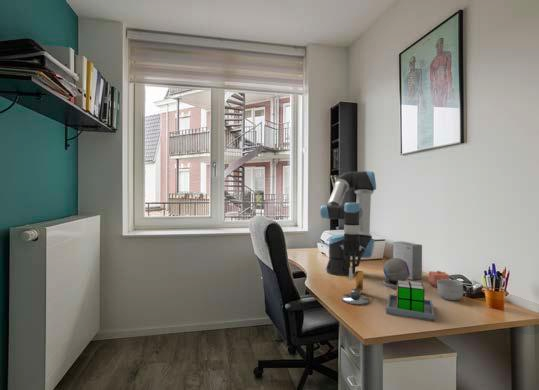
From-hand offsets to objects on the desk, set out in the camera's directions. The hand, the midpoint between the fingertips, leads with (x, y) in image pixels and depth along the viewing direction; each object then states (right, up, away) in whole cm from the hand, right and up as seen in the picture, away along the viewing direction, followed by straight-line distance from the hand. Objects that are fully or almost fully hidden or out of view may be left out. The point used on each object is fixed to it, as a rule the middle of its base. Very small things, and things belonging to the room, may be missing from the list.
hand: (351, 279), depth 153 cm
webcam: (+27, -6, +10) cm, 29 cm away
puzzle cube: (+19, -6, -23) cm, 30 cm away
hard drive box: (+41, -6, +28) cm, 50 cm away
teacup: (+46, -7, -8) cm, 47 cm away
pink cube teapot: (+50, -7, +9) cm, 51 cm away
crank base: (-1, -6, -12) cm, 14 cm away
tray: (+19, -6, -23) cm, 31 cm away
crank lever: (+1, -5, -7) cm, 8 cm away
